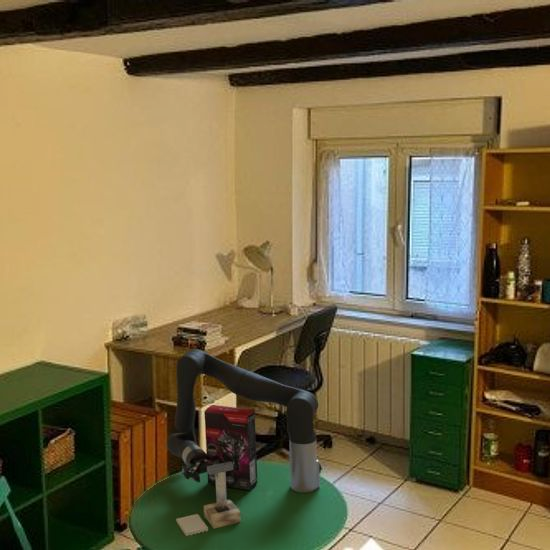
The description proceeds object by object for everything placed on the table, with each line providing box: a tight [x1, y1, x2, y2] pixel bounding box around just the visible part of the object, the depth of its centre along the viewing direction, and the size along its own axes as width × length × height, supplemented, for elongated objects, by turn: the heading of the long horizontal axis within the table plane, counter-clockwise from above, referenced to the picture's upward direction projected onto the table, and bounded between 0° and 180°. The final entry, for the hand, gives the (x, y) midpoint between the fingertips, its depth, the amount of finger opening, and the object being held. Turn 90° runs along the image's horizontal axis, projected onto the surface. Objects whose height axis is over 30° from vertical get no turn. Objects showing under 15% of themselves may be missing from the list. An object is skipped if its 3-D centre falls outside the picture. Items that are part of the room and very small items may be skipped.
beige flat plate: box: [175, 513, 209, 537], centre depth 222 cm, size 7×10×1 cm
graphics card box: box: [204, 404, 258, 491], centre depth 249 cm, size 17×7×27 cm, turn 68°
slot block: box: [203, 499, 242, 529], centre depth 226 cm, size 9×9×4 cm
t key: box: [206, 462, 233, 513], centre depth 225 cm, size 8×3×18 cm, turn 115°
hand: (211, 476), depth 233 cm, fingers open, 8 cm apart
